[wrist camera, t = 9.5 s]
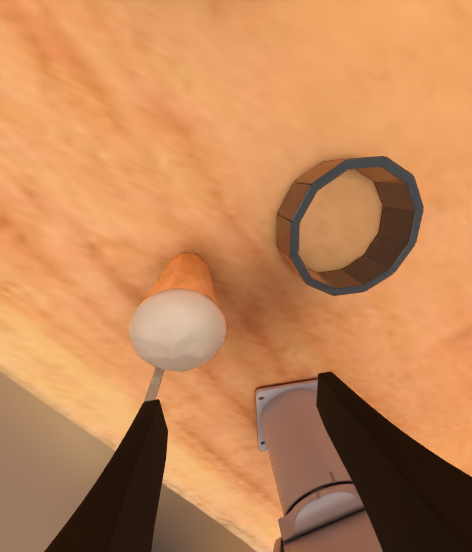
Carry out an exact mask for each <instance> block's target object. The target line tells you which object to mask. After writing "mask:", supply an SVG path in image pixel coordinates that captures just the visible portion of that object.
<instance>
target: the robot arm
mask: <svg viewBox="0 0 472 552" xmlns="http://www.w3.org/2000/svg"><path fill="white" fill-rule="evenodd" d="M255 396H256V414H257V432H258V447H259V450H260V451H266V450H268V452H269V456H270V460H271V465H272V469H273V473H274V477H275V481H276V486H277V490H278V494H279V498H280V502H281V506H282V510H283V514H284V517H282V518H280V519H279V520H278V522H279V526H280V531H281V536H282V537H280V538H278V539H277V540H276V541H275V544H274V549H273V552H472V477H471V476H469V475H467V474H466V473H464V472H463V471H461V470H459V469H458V468H456V467H454V466H453V465H451V464H450V463H448V462H446V461H445V460H443V459H442V458H440V457H439V456H437V455H435V454H434V453H432V452H431V451H430V450H428V449H427V448H425V447H424V446H422V445H421V444H419V443H418V442H416V441H415V440H414V439H412V438H411V437H409V436H408V435H407V434H405V433H404V432H403V431H401V430H400V429H399V428H397V427H396V426H395V425H393V424H392V423H391V422H390V421H388V420H387V419H386V418H384V417H383V416H382V415H381V414H380V413H378V412H377V411H376V410H375V409H373V408H372V407H371V406H370V405H369V404H367V403H366V402H365V401H364V400H363V399H362V398H360V397H359V396H358V395H357V394H356V393H355V392H354V391H352V390H351V389H350V388H349V387H348V386H347V385H346V384H345V383H343V382H342V381H341V380H340V379H339V378H338V377H337V376H336V375H335V374H333V373H332V372H325V373H319V374H318V379H316V380H310V381H303V382H297V383H291V384H285V385H279V386H272V387H266V388H260V389H257V390H256V392H255ZM167 437H168V429H167V426H166V422H165V419H164V415H163V411H162V408H161V404H160V401H159V399H157V400H151V401H145V402H144V403H143V404H142V406H141V408H140V410H139V412H138V414H137V415H136V417H135V419H134V421H133V423H132V425H131V426H130V428H129V430H128V432H127V433H126V435H125V437H124V438H123V440H122V442H121V443H120V445H119V447H118V448H117V450H116V452H115V453H114V455H113V457H112V458H111V460H110V462H109V463H108V464H107V466H106V468H105V469H104V471H103V472H102V474H101V475H100V477H99V478H98V480H97V481H96V483H95V484H94V486H93V487H92V489H91V490H90V491H89V493H88V495H87V496H86V497H85V499H84V500H83V501H82V503H81V504H80V506H79V507H78V508H77V510H76V511H75V512H74V514H73V515H72V516H71V518H70V519H69V521H68V522H67V523H66V525H65V526H64V527H63V528H62V530H61V531H60V532H59V533H58V535H57V536H56V537H55V539H54V540H53V541H52V543H51V544H50V545H49V546H48V548H47V549H46V550H45V551H44V552H151V549H152V540H153V533H154V526H155V520H156V514H157V508H158V502H159V497H160V491H161V485H162V479H163V473H164V467H165V461H166V452H167Z"/></svg>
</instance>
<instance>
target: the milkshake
mask: <svg viewBox="0 0 472 552" xmlns="http://www.w3.org/2000/svg"><path fill="white" fill-rule="evenodd" d="M129 335H130V339H131V341H132V344H133V347H134V349H135V351H136V352H137V354H138V355H139V356H140V357H141V358H142V359H143V360H145V361H146V362H148V363H150V364H152V365H154V366H156V367H155V370H154V373H153V376H152V379H151V382H150V385H149V388H148V391H147V394H146V397H145V400H144V402H145V401H151V400H156V396H157V393H158V390H159V386H160V383H161V380H162V377H163V373H164V370H171V371H188V370H191V369H194V368H197V367H199V366H201V365H203V364H205V363H206V362H208V361H209V360H211V359H212V358H213V357H214V356H215V355H216V353H217V352H218V351H219V349H220V348H221V346H222V345H223V343H224V341H225V337H226V322H225V319H224V316H223V313H222V310H221V307H220V305H219V302H218V299H217V296H216V293H215V290H214V287H213V284H212V280H211V276H210V273H209V269H208V265H207V263H206V262H205V261H204V260H203V259H202V258H201V257H200V256H199V255H198V254H192V253H186V252H183V253H181V254H179V255H177V256H175V257H173V258H172V259H171V260H170V262H169V263H168V265H167V266H166V268H165V270H164V271H163V273H162V274H161V276H160V277H159V279H158V280H157V282H156V283H155V285H154V286H153V287H152V289H151V290H150V291H149V293H148V294H147V295H146V297H145V298H144V300H143V301H142V302H141V304H140V305H139V306H138V307H137V309H136V310H135V312H134V314H133V316H132V319H131V321H130V325H129Z"/></svg>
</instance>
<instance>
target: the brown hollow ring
mask: <svg viewBox="0 0 472 552" xmlns="http://www.w3.org/2000/svg"><path fill="white" fill-rule="evenodd" d="M349 169H355V170H357V171H358V172H360V173H361V174H363V175H364V176H366V177H368V178H369V179H371V180H372V181H374V182H375V185H376V188H377V190H378V193H379V195H380V198H381V201H382V203H383V212H382V218H381V224H380V230H379V234H378V235H377V237H376V238H375V240H374V241H373V243H372V244H371V246H370V247H369V249H368V250H367V252H366V253H365V254H364V256H363V257H361V258H359V259H358V260H356V261H355V262H353V263H352V264H350V265H349V266H347V267H345V268H344V269H342V270H338V271H329V272H321V273H317V272H315V271H312V270H310V269H308V268H306V267H305V265H304V263H303V261H302V260H301V258H300V256H299V255H298V252H299V223H300V221H301V219H302V217H303V216H304V214H305V212H306V210H307V208H308V207H309V205H310V203H311V201H312V199H313V198H314V196H315V194H316V192H317V191H318V190H319V189H321V188H322V187H324V186H325V185H326V184H328V183H329V182H331V181H332V180H334V179H335V178H336V177H338V176H339V175H341V174H342V173H344V172H345V171H347V170H349ZM423 208H424V207H423V204H422V200H421V197H420V194H419V191H418V187H417V184H416V181H415V178H414V176H413V175H412V174H411V173H410V172H408V171H407V170H405V169H404V168H402V167H401V166H399V165H398V164H396V163H395V162H393V161H392V160H391V159H389V158H388V157H385V156H377V157H363V158H350V159H340V160H331V161H324V162H321V163H320V164H318V165H317V166H316V167H314V168H313V169H311V170H310V171H309V172H307V173H306V174H304V175H303V176H302V177H300V178H299V179H297V180H296V181H295V182H294V183H293V184H292V186H291V188H290V190H289V192H288V194H287V196H286V197H285V199H284V201H283V203H282V205H281V207H280V209H279V211H278V213H277V214H278V215H277V245H278V246H277V247H278V248H279V250H280V251H281V253H282V255H283V256H284V258H285V259H286V261H287V263H288V264H289V266H290V267H291V269H292V270H293V271H294V272H295V273H296V274H297V275H298V276H299V277H300V278H301V279H302V280H303V281H304V282H305V283H306V284H307V285H309V286H311V287H313V288H316V289H318V290H320V291H323V292H325V293H327V294H330V295H334V296H337V295H345V294H352V293H360V292H364V291H367V290H369V289H370V288H372V287H373V286H375V285H377V284H378V283H380V282H381V281H383V280H385V279H386V278H388V277H389V276H391V275H393V273H395V272H396V270H397V269H398V268H399V266H400V265H401V264H402V262H403V261H404V259H405V258H406V257H407V255H408V254H409V253H410V251H411V250H412V248H413V247H414V246H415V244H414V243H416V241H417V237H418V232H419V228H420V223H421V219H422V215H423Z"/></svg>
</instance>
